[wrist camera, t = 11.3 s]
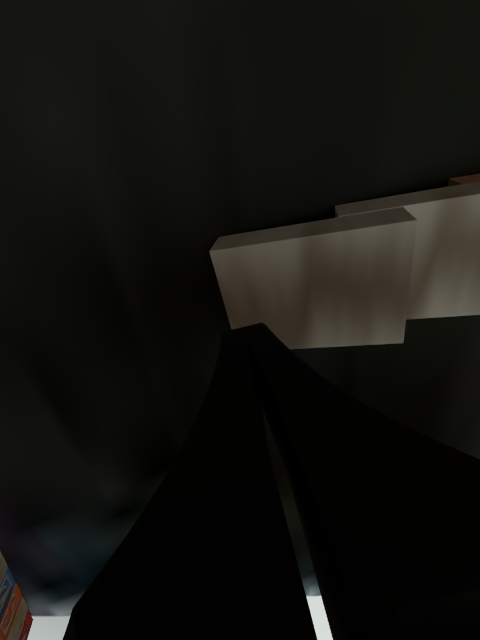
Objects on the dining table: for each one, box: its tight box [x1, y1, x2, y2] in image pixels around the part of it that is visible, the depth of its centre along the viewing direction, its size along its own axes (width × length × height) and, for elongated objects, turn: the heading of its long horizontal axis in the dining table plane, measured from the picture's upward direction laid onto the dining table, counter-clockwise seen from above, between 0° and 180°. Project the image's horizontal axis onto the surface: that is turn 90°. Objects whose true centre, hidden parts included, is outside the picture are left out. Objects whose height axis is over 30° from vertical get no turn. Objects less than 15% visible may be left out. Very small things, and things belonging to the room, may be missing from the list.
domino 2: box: [335, 181, 480, 319], centre depth 12 cm, size 5×2×7 cm
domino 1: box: [209, 207, 417, 349], centre depth 12 cm, size 5×2×7 cm
